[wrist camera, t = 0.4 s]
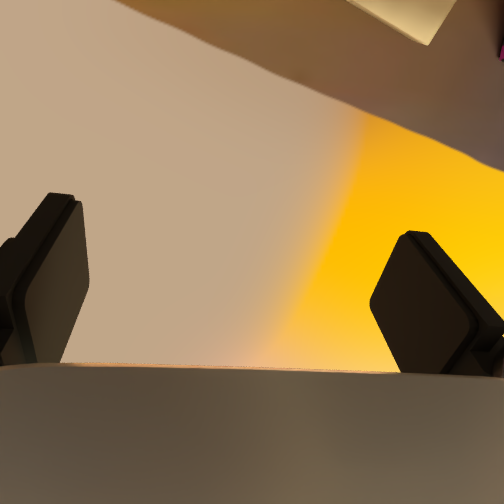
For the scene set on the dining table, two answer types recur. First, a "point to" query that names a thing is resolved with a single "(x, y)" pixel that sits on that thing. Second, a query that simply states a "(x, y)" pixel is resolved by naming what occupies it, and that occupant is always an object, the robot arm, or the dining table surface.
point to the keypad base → (408, 15)
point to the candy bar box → (502, 53)
